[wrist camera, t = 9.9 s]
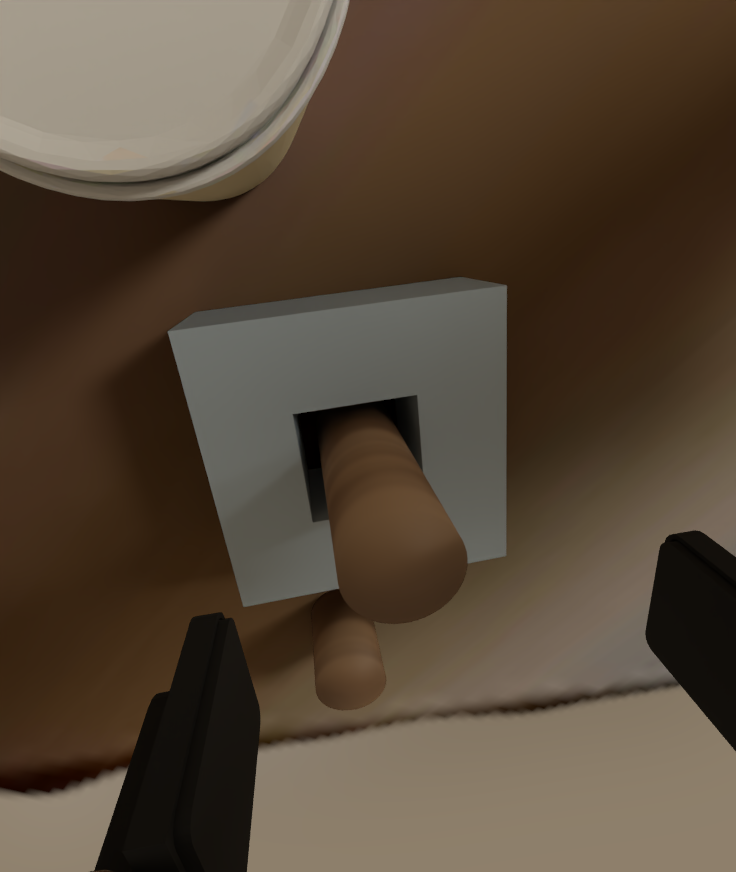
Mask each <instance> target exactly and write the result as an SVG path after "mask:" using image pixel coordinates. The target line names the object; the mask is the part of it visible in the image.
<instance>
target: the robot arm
mask: <svg viewBox="0 0 736 872" xmlns="http://www.w3.org/2000/svg"><path fill="white" fill-rule="evenodd" d="M645 635H646V640H647V643H648V645H649V647H650V649H651V650H652V651H653V653H654V654H655V655H656V656H657V657H658V659H659V660H660V661H661V662H662V663H663V665H664V666H665V667H666V668H667V669H668V671H669V672H670V673H671V674H672V675H673V677H674V678H675V679H676V680H677V681H678V683H679V684H680V685H681V686H682V687H683V689H684V690H685V691H686V692H687V693H688V695H689V696H690V697H691V698H692V699H693V701H694V702H695V703H696V704H697V705H698V707H699V708H700V709H701V710H702V711H703V712H704V714H705V715H706V716H707V717H708V719H709V720H710V721H711V722H712V723H713V725H714V726H715V727H716V728H717V729H718V730H719V732H720V733H721V734H722V735H723V737H724V738H725V739H726V740H727V741H728V743H729V744H730V745H731V746H732V747H733V749H734V750H735V751H736V557H735V556H733V555H732V554H731V553H729V552H728V551H727V550H725V549H724V548H723V547H721V546H720V545H719V544H717V543H716V542H715V541H713V540H712V539H711V538H709V537H708V536H707V535H705V534H704V533H702V532H700V531H696V530H695V531H689V532H683V533H677V534H672V535H669V536H668V537H667V538H666V540H665V543H663V544H662V545H661V546H660V550H659V555H658V561H657V567H656V573H655V579H654V585H653V591H652V597H651V603H650V608H649V614H648V620H647V626H646V634H645ZM259 732H260V709H259V704H258V700H257V697H256V694H255V690H254V687H253V683H252V680H251V677H250V673H249V670H248V667H247V663H246V660H245V656H244V653H243V650H242V646H241V643H240V640H239V636H238V633H237V629H236V626H235V623H234V620H233V619H232V618H227V619H225V618H224V615H223V614H222V613H221V612H219V613H213V614H208V615H202V616H196V617H193V618H192V619H191V622H190V624H189V628H188V631H187V635H186V638H185V641H184V645H183V648H182V651H181V655H180V658H179V661H178V665H177V668H176V672H175V675H174V678H173V682H172V685H171V688H170V691H168V692H162V693H158V694H156V695H155V696H154V697H153V699H152V701H151V703H150V705H149V707H148V710H147V713H146V716H145V719H144V722H143V725H142V728H141V731H140V734H139V738H138V741H137V744H136V747H135V750H134V753H133V756H132V759H131V762H130V765H129V768H128V771H127V774H126V777H125V780H124V783H123V786H122V789H121V792H120V795H119V798H118V801H117V804H116V807H115V810H114V813H113V816H112V819H111V822H110V825H109V828H108V831H107V834H106V837H105V840H104V843H103V846H102V849H101V852H100V856H99V858H98V861H97V864H96V867H95V870H94V871H90V872H247V863H248V851H249V840H250V830H251V819H252V808H253V798H254V787H255V776H256V764H257V754H258V743H259Z"/></svg>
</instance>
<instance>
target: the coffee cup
mask: <svg viewBox="0 0 736 872" xmlns="http://www.w3.org/2000/svg"><path fill="white" fill-rule="evenodd" d="M348 5H349V0H0V171H3V172H5V173H7V174H9V175H11V176H13V177H16V178H18V179H21V180H23V181H26V182H29V183H32V184H35V185H37V186H40V187H43V188H46V189H49V190H53V191H57V192H61V193H65V194H69V195H73V196H78V197H85V198H92V199H99V200H111V201H141V200H153V199H166V200H184V201H217V200H222V199H228V198H232V197H235V196H238V195H241V194H243V193H245V192H247V191H249V190H251V189H253V188H254V187H256V186H257V185H259V184H260V183H262V182H263V181H264V180H265V179H266V178H267V177H268V176H270V175H271V174H272V173H273V171H274V170H275V169H276V168H277V166H278V165H279V164H280V162H281V161H282V159H283V158H284V156H285V155H286V153H287V151H288V149H289V147H290V145H291V143H292V141H293V139H294V136H295V134H296V132H297V129H298V127H299V124H300V122H301V120H302V117H303V115H304V112H305V110H306V107H307V105H308V102H309V100H310V98H311V96H312V95H313V93H314V91H315V89H316V88H317V86H318V84H319V82H320V81H321V79H322V77H323V75H324V73H325V71H326V69H327V66H328V64H329V62H330V59H331V57H332V55H333V53H334V50H335V48H336V45H337V42H338V39H339V36H340V33H341V30H342V27H343V24H344V21H345V18H346V13H347V9H348Z"/></svg>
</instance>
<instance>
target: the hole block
mask: <svg viewBox="0 0 736 872" xmlns="http://www.w3.org/2000/svg"><path fill="white" fill-rule="evenodd" d="M168 335H169V338H170V342H171V345H172V349H173V353H174V356H175V360H176V364H177V367H178V371H179V375H180V378H181V382H182V385H183V389H184V393H185V396H186V400H187V404H188V407H189V411H190V414H191V418H192V422H193V425H194V429H195V433H196V436H197V440H198V444H199V447H200V451H201V454H202V458H203V462H204V465H205V469H206V473H207V476H208V480H209V483H210V487H211V491H212V494H213V498H214V502H215V505H216V509H217V513H218V516H219V520H220V523H221V527H222V531H223V534H224V538H225V542H226V545H227V549H228V552H229V556H230V560H231V563H232V567H233V571H234V574H235V578H236V582H237V585H238V589H239V592H240V596H241V600H242V603H243V607H247V606H252V605H257V604H262V603H267V602H272V601H277V600H282V599H288V598H293V597H298V596H303V595H308V594H313V593H318V592H324V591H329V590H334V589H339V586H338V580H337V573H336V566H335V559H334V552H333V544H332V537H331V530H330V523H329V516H328V509H327V501H326V494H325V487H324V480H323V473H322V468H317V469H311V470H308V465H307V460H306V454H305V449H304V443H303V438H302V432H301V426H300V421H299V415H298V413H304V412H310V411H317V410H323V409H330V408H336V407H342V406H349V405H355V404H361V403H368V402H374V401H381V400H387V399H393V398H395V406H396V417H397V427H398V431H399V433H400V434H401V436H402V438H403V439H404V441H405V443H406V445H407V446H408V448H409V450H410V451H411V453H412V455H413V456H414V458H415V460H416V462H417V463H418V465H419V467H420V468H421V470H422V472H423V474H424V475H425V477H426V479H427V480H428V482H429V484H430V485H431V487H432V489H433V491H434V492H435V494H436V496H437V497H438V499H439V501H440V503H441V504H442V506H443V508H444V509H445V511H446V513H447V514H448V516H449V518H450V520H451V521H452V523H453V525H454V526H455V528H456V530H457V532H458V533H459V535H460V537H461V538H462V540H463V542H464V545H465V548H466V551H467V558H468V562H467V564H468V563H473V562H478V561H483V560H488V559H493V558H498V557H504V556H506V438H507V285H503V284H497V283H492V282H486V281H481V280H476V279H470V278H465V277H456V278H448V279H441V280H433V281H426V282H418V283H411V284H403V285H396V286H388V287H381V288H373V289H366V290H358V291H350V292H343V293H335V294H328V295H320V296H313V297H305V298H298V299H290V300H283V301H275V302H268V303H260V304H253V305H245V306H238V307H230V308H223V309H215V310H207V311H200V312H194V313H193V314H192V315H190V316H189V317H187V318H186V319H185V320H183V321H182V322H180V323H179V324H177V325H176V326H175V327H173V328H172V329H170V330H169V331H168Z"/></svg>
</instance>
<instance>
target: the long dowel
mask: <svg viewBox="0 0 736 872" xmlns="http://www.w3.org/2000/svg"><path fill="white" fill-rule="evenodd" d="M315 422H316V430H317V437H318V444H319V451H320V458H321V466H322V473H323V480H324V487H325V494H326V501H327V509H328V516H329V523H330V530H331V537H332V544H333V552H334V559H335V566H336V573H337V580H338V586H339V590H340V592H341V595H342V597H343V599H344V600H345V602H346V603H347V604H348V605H349V607H350V608H351V609H353V610H354V611H355V612H356V613H358V614H359V615H361V616H363V617H365V618H367V619H369V620H372V621H376V622H380V623H388V624H399V623H407V622H412V621H415V620H419V619H421V618H424V617H426V616H428V615H430V614H432V613H434V612H436V611H437V610H439V609H440V608H442V607H443V606H444V605H445V604H446V603H448V602H449V601H450V600H451V599H452V597H453V596H454V595H455V594H456V593H457V591H458V590H459V588H460V586H461V584H462V582H463V580H464V578H465V575H466V570H467V562H468V558H467V551H466V548H465V545H464V542H463V540H462V538H461V537H460V535H459V533H458V532H457V530H456V528H455V526H454V525H453V523H452V521H451V520H450V518H449V516H448V514H447V513H446V511H445V509H444V508H443V506H442V504H441V503H440V501H439V499H438V497H437V496H436V494H435V492H434V491H433V489H432V487H431V485H430V484H429V482H428V480H427V479H426V477H425V475H424V474H423V472H422V470H421V468H420V467H419V465H418V463H417V462H416V460H415V458H414V456H413V455H412V453H411V451H410V450H409V448H408V446H407V445H406V443H405V441H404V439H403V438H402V436H401V434H400V433H399V431H398V429H397V427H396V426H395V424H394V422H393V421H392V419H391V417H390V416H389V414H388V412H387V410H386V409H385V407H384V405H383V404H382V402H381V401H374V402H368V403H361V404H355V405H349V406H342V407H336V408H330V409H323V410H317V411H316V418H315Z"/></svg>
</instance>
